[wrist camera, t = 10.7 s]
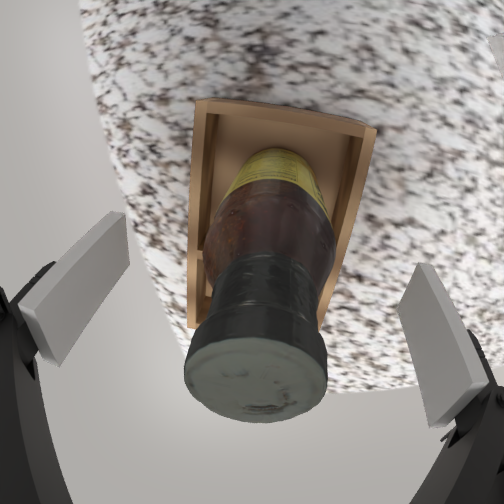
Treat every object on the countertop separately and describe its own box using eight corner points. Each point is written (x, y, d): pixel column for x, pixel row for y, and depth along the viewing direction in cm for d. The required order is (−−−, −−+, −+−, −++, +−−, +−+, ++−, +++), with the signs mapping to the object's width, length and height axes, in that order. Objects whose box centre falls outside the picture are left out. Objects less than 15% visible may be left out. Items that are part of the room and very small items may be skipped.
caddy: (213, 97, 23) (195, 100, 19) (360, 121, 23) (377, 129, 18) (199, 295, 33) (187, 327, 29) (311, 313, 33) (312, 348, 29)
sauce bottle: (300, 224, 27) (307, 455, 10) (230, 203, 27) (144, 418, 10) (327, 154, 24) (411, 352, 7) (251, 130, 23) (149, 283, 6)
